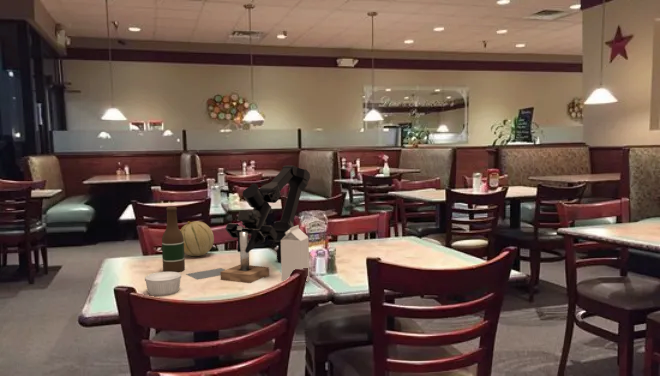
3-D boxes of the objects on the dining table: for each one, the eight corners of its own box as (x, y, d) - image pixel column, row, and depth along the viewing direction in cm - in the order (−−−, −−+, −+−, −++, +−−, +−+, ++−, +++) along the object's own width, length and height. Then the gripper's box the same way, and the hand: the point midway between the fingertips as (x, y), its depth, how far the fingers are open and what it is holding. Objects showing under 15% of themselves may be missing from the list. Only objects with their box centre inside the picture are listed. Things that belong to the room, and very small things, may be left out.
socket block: (240, 272, 195) (240, 264, 195) (269, 275, 190) (268, 267, 190) (220, 280, 185) (220, 271, 184) (250, 283, 179) (250, 275, 179)
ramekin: (161, 298, 164) (161, 281, 164) (137, 293, 170) (136, 277, 170) (189, 290, 174) (188, 273, 173) (165, 285, 180) (164, 270, 179)
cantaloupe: (221, 255, 226) (220, 219, 225) (191, 261, 215) (190, 224, 214) (200, 250, 236) (199, 217, 235) (171, 256, 225) (169, 221, 224)
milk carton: (309, 280, 182) (308, 225, 181) (301, 286, 175) (300, 228, 174) (290, 279, 184) (288, 224, 183) (281, 284, 178) (280, 227, 176)
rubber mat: (221, 268, 202) (221, 268, 202) (233, 273, 194) (233, 272, 194) (185, 274, 193) (185, 274, 193) (197, 280, 185) (197, 279, 185)
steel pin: (247, 270, 189) (246, 230, 188) (250, 271, 187) (249, 232, 185) (239, 271, 188) (238, 231, 187) (242, 273, 185) (241, 232, 184)
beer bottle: (189, 270, 200) (187, 206, 198) (175, 274, 193) (172, 208, 191) (173, 268, 204) (170, 205, 202) (158, 272, 197) (155, 207, 195)
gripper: (227, 200, 193) (209, 236, 184) (272, 202, 185) (255, 240, 176) (240, 219, 200) (224, 254, 191) (284, 222, 193) (269, 258, 184)
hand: (242, 251), depth 185 cm, fingers closed on steel pin, 3 cm apart
